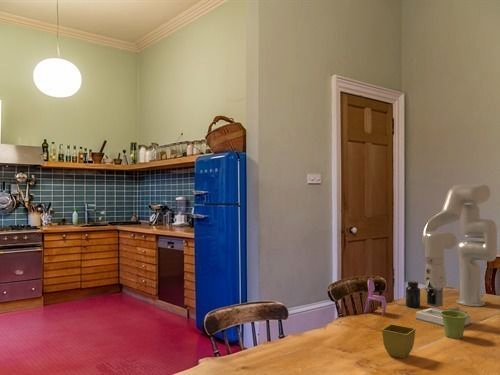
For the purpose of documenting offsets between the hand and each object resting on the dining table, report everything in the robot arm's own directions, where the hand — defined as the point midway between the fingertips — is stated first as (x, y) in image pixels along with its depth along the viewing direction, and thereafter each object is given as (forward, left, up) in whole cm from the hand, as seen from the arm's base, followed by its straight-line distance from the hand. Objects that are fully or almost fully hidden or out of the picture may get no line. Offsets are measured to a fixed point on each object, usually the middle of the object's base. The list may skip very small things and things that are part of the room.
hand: (434, 302), depth 188 cm
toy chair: (+12, -23, -8) cm, 26 cm away
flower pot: (+49, +15, -8) cm, 52 cm away
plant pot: (+15, +16, -8) cm, 23 cm away
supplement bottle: (-12, -19, -8) cm, 23 cm away
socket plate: (0, +3, -7) cm, 8 cm away
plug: (0, 0, -1) cm, 1 cm away
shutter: (0, +9, -4) cm, 10 cm away
